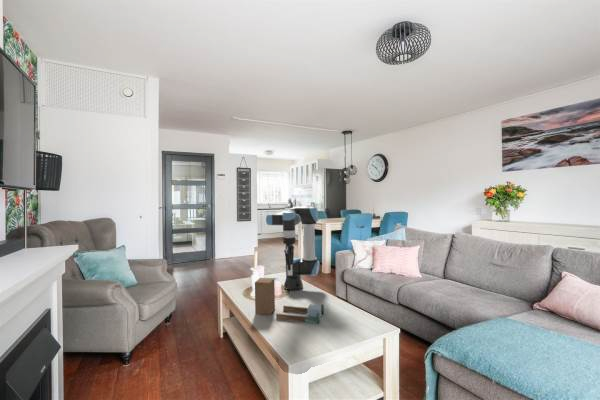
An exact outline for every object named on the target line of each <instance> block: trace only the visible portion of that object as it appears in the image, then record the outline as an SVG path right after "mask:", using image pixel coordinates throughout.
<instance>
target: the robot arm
mask: <svg viewBox="0 0 600 400" xmlns="http://www.w3.org/2000/svg"><path fill="white" fill-rule="evenodd" d="M319 217H320V216H319V212H318V209H317V207H316V206H294V207H290V208H287V209H286V210H284V211H280V212H278V213H268V214H267V215H266V217H265V223H266V225H267V226H282V236H283V237H282V243H283V244H284V245H285V249H284V251H283V252H284V255H285V280H284V281H285V282H284V284H283V288H284V287H285V288H287V289H289V290H288V291H299V290H302V289H304V288H303V287H304V284H303V281H302V278H301V277H302V276H308V277H309V276H311V277H313V276H317V275H318V274H319V270H320V261H319V260H318V258H317V256H316V240H315V239H316V238H315V237H316V235H315V228H316V227H315V226H317V222H319ZM300 223H301V225H302V226H303V250H304V251H303V253H304V254H303V257H302V259H301V258H300V257H294V255H295V246H294V244H296V226H297V225H299V224H300ZM285 288H284V289H285Z"/></svg>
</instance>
